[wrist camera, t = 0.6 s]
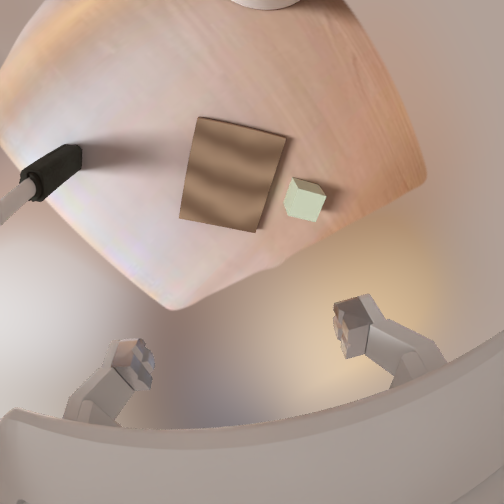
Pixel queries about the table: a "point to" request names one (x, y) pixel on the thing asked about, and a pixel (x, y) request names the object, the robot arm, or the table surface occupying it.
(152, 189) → the table surface
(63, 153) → the black and grey rod
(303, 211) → the cube
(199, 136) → the serving board
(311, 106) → the table surface
